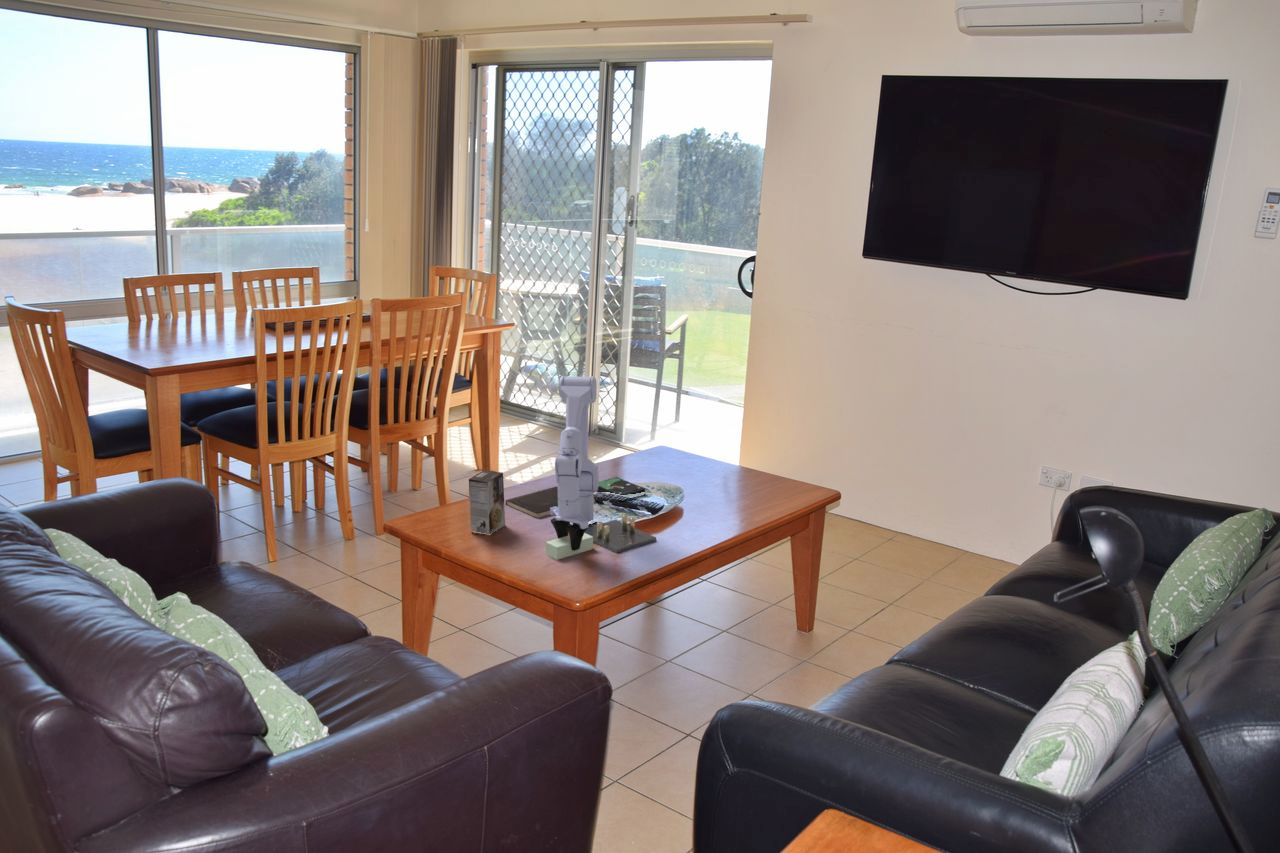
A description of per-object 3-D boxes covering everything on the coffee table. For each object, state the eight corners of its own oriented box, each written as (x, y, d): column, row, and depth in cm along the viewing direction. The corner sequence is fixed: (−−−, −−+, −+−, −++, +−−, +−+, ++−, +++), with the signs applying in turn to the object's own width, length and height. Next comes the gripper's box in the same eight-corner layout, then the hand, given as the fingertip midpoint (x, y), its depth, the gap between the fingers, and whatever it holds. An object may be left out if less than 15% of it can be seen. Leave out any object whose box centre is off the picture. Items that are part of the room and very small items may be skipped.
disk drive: (645, 496, 322) (616, 484, 333) (646, 488, 321) (616, 476, 332) (619, 503, 315) (590, 490, 327) (619, 495, 315) (590, 482, 326)
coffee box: (486, 522, 297) (484, 469, 293) (505, 525, 295) (504, 471, 291) (469, 533, 289) (467, 478, 285) (490, 536, 287) (488, 481, 283)
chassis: (576, 534, 289) (576, 517, 287) (615, 523, 297) (615, 506, 296) (616, 553, 275) (616, 535, 274) (656, 540, 284) (656, 523, 283)
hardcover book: (597, 502, 316) (597, 495, 315) (537, 520, 301) (537, 512, 300) (565, 490, 327) (565, 483, 327) (505, 506, 312) (505, 499, 312)
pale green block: (545, 554, 275) (545, 541, 274) (581, 543, 282) (581, 531, 281) (556, 559, 271) (556, 547, 270) (593, 548, 278) (593, 536, 277)
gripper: (540, 494, 275) (541, 542, 279) (572, 508, 265) (573, 558, 268) (561, 489, 280) (562, 536, 283) (594, 503, 269) (595, 551, 273)
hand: (569, 546), depth 276 cm, fingers closed on pale green block, 5 cm apart
